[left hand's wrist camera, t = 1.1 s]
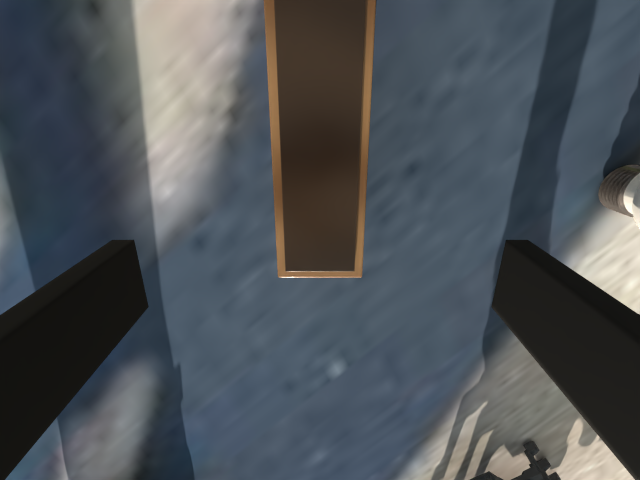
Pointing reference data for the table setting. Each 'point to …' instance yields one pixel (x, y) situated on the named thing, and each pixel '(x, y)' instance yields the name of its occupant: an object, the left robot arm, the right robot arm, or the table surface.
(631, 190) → the light bulb
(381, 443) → the table surface
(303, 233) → the tray
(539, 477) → the toy
